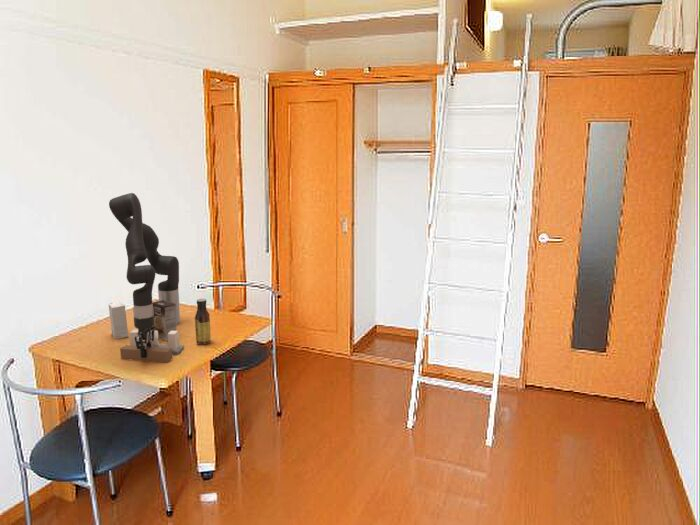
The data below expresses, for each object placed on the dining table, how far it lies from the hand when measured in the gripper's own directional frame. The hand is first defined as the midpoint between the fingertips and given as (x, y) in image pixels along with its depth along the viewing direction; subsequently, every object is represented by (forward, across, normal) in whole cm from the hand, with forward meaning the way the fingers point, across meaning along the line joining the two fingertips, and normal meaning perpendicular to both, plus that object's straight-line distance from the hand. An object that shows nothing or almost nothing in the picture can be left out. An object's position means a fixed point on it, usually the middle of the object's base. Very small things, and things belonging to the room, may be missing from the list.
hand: (146, 355), depth 217 cm
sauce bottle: (+2, -20, +17) cm, 26 cm away
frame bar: (+2, 0, 0) cm, 2 cm away
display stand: (+2, -9, 0) cm, 9 cm away
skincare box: (+2, -25, -23) cm, 34 cm away
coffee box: (+2, -25, -2) cm, 25 cm away
